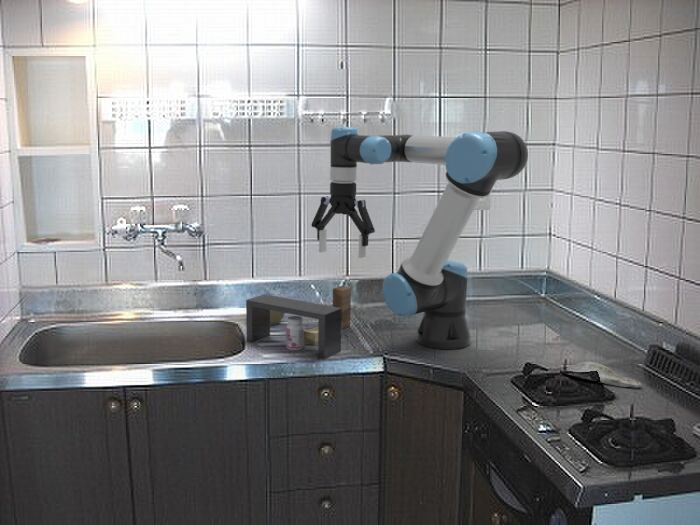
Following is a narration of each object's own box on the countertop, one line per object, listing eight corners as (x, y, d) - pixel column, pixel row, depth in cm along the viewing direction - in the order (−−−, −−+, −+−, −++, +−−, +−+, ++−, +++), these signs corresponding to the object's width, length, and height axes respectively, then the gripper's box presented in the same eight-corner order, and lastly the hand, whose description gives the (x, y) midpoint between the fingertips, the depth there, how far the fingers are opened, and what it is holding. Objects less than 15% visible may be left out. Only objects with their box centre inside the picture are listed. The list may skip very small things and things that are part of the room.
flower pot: (286, 327, 225) (286, 304, 223) (252, 326, 225) (252, 303, 223) (289, 318, 234) (289, 295, 233) (257, 317, 235) (257, 295, 233)
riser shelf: (341, 351, 204) (341, 308, 202) (324, 359, 197) (325, 314, 195) (264, 334, 217) (264, 294, 215) (246, 341, 211) (246, 299, 208)
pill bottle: (282, 348, 206) (282, 318, 204) (292, 343, 210) (292, 314, 208) (297, 351, 203) (297, 321, 202) (306, 346, 207) (307, 317, 206)
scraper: (355, 327, 226) (356, 288, 224) (314, 345, 208) (315, 303, 206) (335, 323, 230) (336, 285, 227) (294, 341, 212) (294, 299, 210)
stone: (635, 403, 178) (646, 388, 186) (638, 389, 177) (648, 375, 185) (555, 378, 189) (568, 365, 197) (557, 365, 188) (570, 352, 196)
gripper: (387, 183, 214) (385, 257, 218) (314, 177, 227) (314, 247, 231) (374, 185, 208) (372, 261, 212) (300, 179, 220) (299, 251, 225)
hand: (342, 254), depth 222 cm, fingers open, 13 cm apart
